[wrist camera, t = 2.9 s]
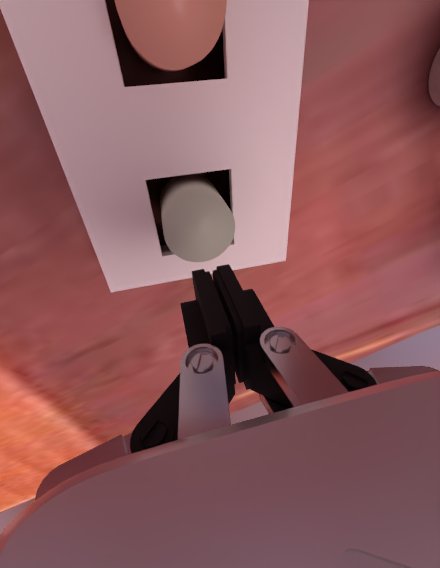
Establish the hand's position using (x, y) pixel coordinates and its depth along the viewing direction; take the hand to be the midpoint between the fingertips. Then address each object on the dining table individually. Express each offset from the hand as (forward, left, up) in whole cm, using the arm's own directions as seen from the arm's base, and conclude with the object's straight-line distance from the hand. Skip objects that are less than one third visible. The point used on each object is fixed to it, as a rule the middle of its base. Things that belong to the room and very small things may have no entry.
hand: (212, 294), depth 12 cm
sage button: (0, 0, -11) cm, 11 cm away
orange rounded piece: (-10, 0, -11) cm, 15 cm away
